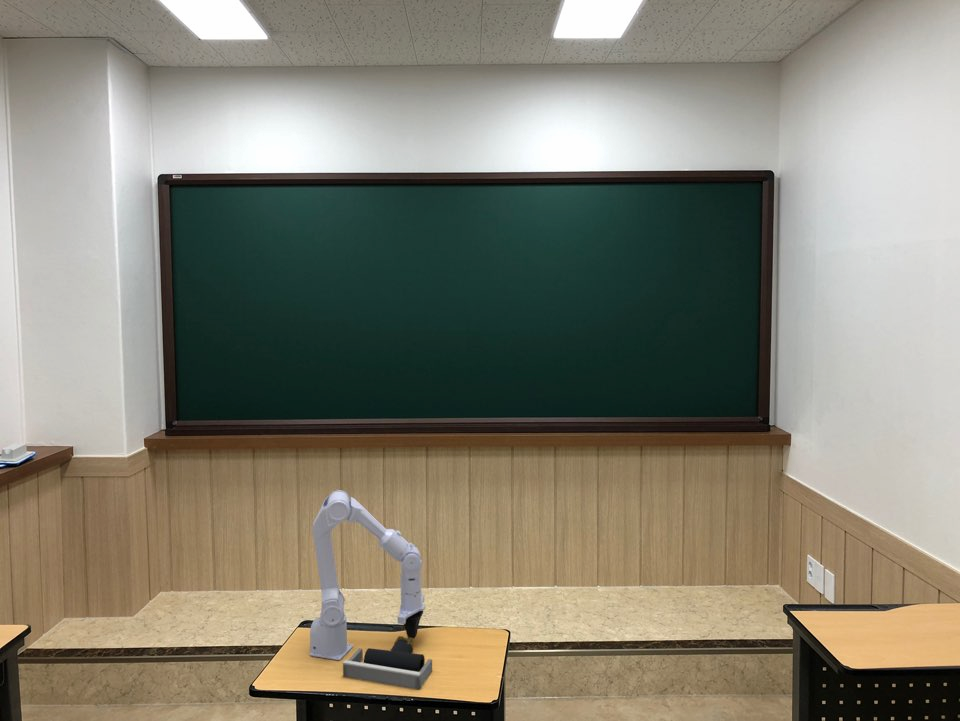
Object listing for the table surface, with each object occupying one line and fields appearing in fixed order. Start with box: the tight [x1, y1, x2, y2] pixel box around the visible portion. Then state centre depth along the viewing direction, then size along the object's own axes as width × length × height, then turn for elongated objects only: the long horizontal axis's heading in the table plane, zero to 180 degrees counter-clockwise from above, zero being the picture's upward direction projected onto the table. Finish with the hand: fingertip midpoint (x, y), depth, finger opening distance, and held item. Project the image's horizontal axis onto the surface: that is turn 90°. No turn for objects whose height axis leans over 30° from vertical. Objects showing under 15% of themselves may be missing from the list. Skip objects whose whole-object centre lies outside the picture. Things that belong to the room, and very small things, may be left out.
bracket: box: [342, 647, 433, 690], centre depth 173 cm, size 21×9×4 cm, turn 73°
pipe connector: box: [363, 635, 426, 672], centre depth 178 cm, size 12×5×15 cm
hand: (411, 637), depth 188 cm, fingers closed
